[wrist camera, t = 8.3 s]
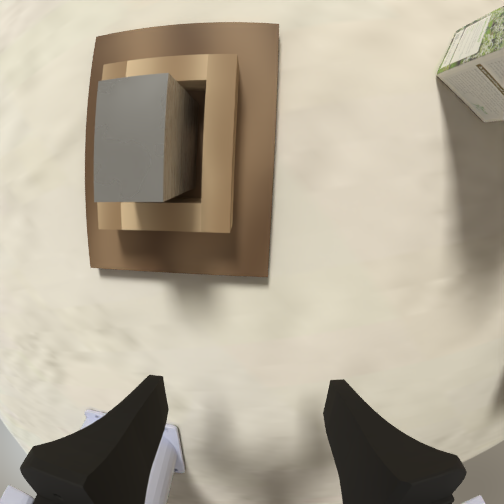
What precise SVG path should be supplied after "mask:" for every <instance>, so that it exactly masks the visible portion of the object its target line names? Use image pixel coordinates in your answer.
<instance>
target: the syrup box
mask: <svg viewBox="0 0 504 504" xmlns="http://www.w3.org/2000/svg"><path fill="white" fill-rule="evenodd" d="M437 76H438V77H439V78H440V79H441V80H442V81H443V82H444V83H445V84H446V85H447V86H448V87H449V88H450V89H451V90H452V91H453V92H454V93H455V94H456V95H457V96H458V97H459V98H460V99H461V100H463V101H464V103H465V104H466V105H467V106H468V107H469V108H470V109H471V110H472V111H473V112H474V113H475V114H476V115H477V116H478V117H479V118H480V119H481V120H482V121H483V122H493V121H502V120H504V6H503V7H501V8H499V9H497V10H495V11H493V12H491V13H489V14H487V15H485V16H483V17H481V18H479V19H477V20H475V21H474V22H472V23H470V24H468V25H466V26H465V27H463V28H461V29H459V30H457V31H456V33H455V35H454V37H453V40H452V42H451V44H450V46H449V49H448V51H447V53H446V55H445V57H444V60H443V62H442V64H441V66H440V68H439V70H438V72H437Z"/></svg>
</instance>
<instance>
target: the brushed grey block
mask: <svg viewBox="0 0 504 504" xmlns="http://www.w3.org/2000/svg"><path fill="white" fill-rule="evenodd" d="M198 110H199V104H198V103H197V102H196V101H195V100H194V99H193V98H192V97H191V96H190V95H189V94H188V92H187V91H186V90H185V89H184V88H183V87H182V86H181V85H180V84H179V83H178V82H177V81H176V80H175V79H174V78H173V77H172V76H171V75H170V74H169V73H160V74H149V75H139V76H131V77H123V78H116V79H109V80H102V81H98V91H97V102H96V116H95V134H94V202H164V201H167V200H169V199H171V198H173V197H175V196H178V195H180V194H182V193H184V192H186V191H189V190H191V189H193V188H196V156H197V130H198Z"/></svg>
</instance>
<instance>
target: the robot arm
mask: <svg viewBox="0 0 504 504" xmlns="http://www.w3.org/2000/svg"><path fill="white" fill-rule="evenodd" d="M167 415H168V404H167V398H166V393H165V387H164V381H163V376H155V375H149V376H148V377H147V378H146V379H145V380H144V381H143V382H142V383H141V384H140V385H139V386H138V387H136V388H135V389H134V390H133V391H132V392H131V393H130V394H129V395H128V396H127V397H126V398H125V399H124V400H123V401H122V402H120V403H119V404H118V405H117V406H116V407H114V408H113V409H112V410H111V411H109V412H108V413H107V414H106V413H102V412H98V411H93V410H89V409H87V410H86V411H85V416H86V420H85V422H84V423H83V425H82V427H81V429H80V430H79V431H77V432H75V433H73V434H71V435H68V436H66V437H63V438H61V439H58V440H55V441H52V442H49V443H45V444H41V445H37V446H33V448H32V449H31V450H30V452H29V453H28V455H27V457H26V458H25V460H24V462H23V464H22V465H21V467H20V470H21V473H22V475H23V477H24V478H25V479H26V481H27V482H28V483H29V484H30V486H31V487H32V488H33V489H34V491H35V492H36V493H37V496H36V498H35V499H34V498H33V497H31V496H30V495H28V494H26V493H25V492H23V491H21V490H19V489H17V488H15V487H13V486H11V485H8V486H7V488H6V490H5V492H4V493H3V495H2V497H1V499H0V504H167V501H168V497H169V492H170V487H171V483H172V478H173V474H174V472H177V473H184V472H185V465H184V460H183V455H182V450H181V444H180V438H179V433H178V428H177V427H176V426H174V425H169V424H166V420H167ZM323 415H324V422H325V428H326V433H327V437H328V440H329V444H330V447H331V450H332V454H333V457H334V460H335V464H336V467H337V470H338V474H339V479H340V485H341V492H342V499H343V504H452V502H454V497H453V495H452V493H453V492H454V491H455V490H456V488H457V487H458V486H459V485H460V484H461V483H462V481H463V480H464V478H465V476H466V470H465V468H464V466H463V464H462V462H461V461H460V459H459V458H458V456H457V455H454V454H450V453H447V452H444V451H440V450H437V449H435V448H432V447H430V446H428V445H425V444H423V443H421V442H419V441H417V440H415V439H413V438H411V437H410V436H408V435H406V434H404V433H403V432H401V431H400V430H398V429H397V428H395V427H394V426H393V425H391V424H390V423H388V422H387V421H386V420H385V419H383V418H382V417H381V416H380V415H379V414H377V413H376V412H375V411H374V410H373V409H372V408H371V407H370V406H369V405H368V404H367V403H366V402H365V401H364V400H363V399H362V398H361V397H360V396H359V395H358V394H357V393H356V392H355V391H354V390H353V389H352V388H351V387H350V385H349V384H348V383H347V382H346V381H345V380H344V379H343V380H330V385H329V390H328V394H327V399H326V403H325V408H324V412H323ZM461 504H485V502H484V500H483V498H482V496H481V495H478V496H476V497H475V498H472V499H470V500H468V501H466V502H463V503H461Z"/></svg>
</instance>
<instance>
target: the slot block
mask: <svg viewBox="0 0 504 504" xmlns="http://www.w3.org/2000/svg"><path fill="white" fill-rule="evenodd" d="M278 44H279V24H270V23H247V22H216V23H192V24H178V25H168V26H158V27H150V28H143V29H136V30H130V31H124V32H118V33H113V34H108V35H103V36H98V37H96V42H95V48H94V55H93V62H92V69H91V77H90V86H89V96H88V107H87V122H86V144H85V196H86V219H87V234H88V246H89V256H90V266H91V268H104V269H119V270H135V271H152V272H169V273H188V274H208V275H230V276H254V277H268V262H269V245H270V228H271V209H272V190H273V170H274V149H275V126H276V102H277V75H278ZM160 73H169V74H170V75H171V76H172V77H173V78H174V79H175V80H176V81H177V82H178V83H179V84H180V85H181V86H182V87H183V88H184V89H185V90H186V91H187V92H188V94H189V95H190V96H191V97H192V98H193V99H194V100H195V101H196V102H197V103H198V104H199V110H198V130H197V156H196V188H193V189H191V190H189V191H186V192H184V193H182V194H180V195H178V196H175V197H173V198H171V199H169V200H167V201H164V202H94V134H95V116H96V102H97V91H98V81H102V80H109V79H116V78H123V77H131V76H139V75H149V74H160Z"/></svg>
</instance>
